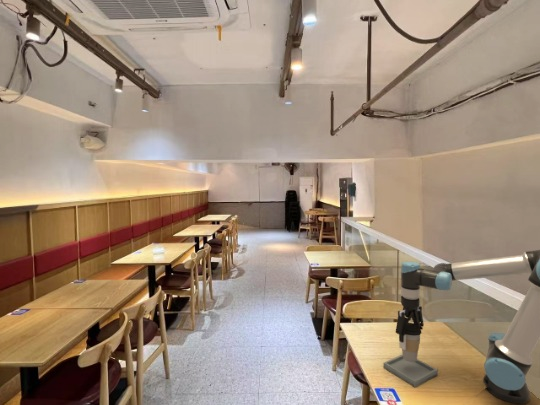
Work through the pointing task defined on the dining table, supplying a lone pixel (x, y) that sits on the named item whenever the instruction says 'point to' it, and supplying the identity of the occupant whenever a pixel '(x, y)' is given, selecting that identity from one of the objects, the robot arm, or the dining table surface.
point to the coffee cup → (412, 342)
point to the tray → (410, 370)
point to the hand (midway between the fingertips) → (409, 345)
